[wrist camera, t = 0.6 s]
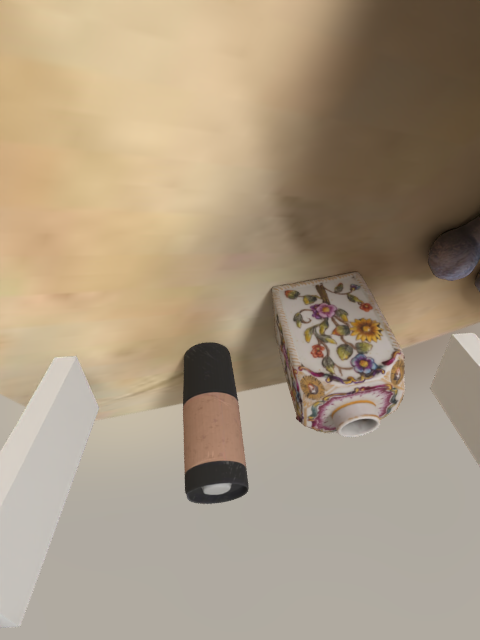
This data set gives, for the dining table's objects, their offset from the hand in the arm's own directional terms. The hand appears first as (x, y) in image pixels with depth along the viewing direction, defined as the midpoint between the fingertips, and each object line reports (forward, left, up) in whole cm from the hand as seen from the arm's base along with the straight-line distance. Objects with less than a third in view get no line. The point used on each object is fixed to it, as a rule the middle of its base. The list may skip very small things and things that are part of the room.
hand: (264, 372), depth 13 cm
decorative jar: (+27, -1, -26) cm, 37 cm away
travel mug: (+27, -19, -26) cm, 42 cm away
